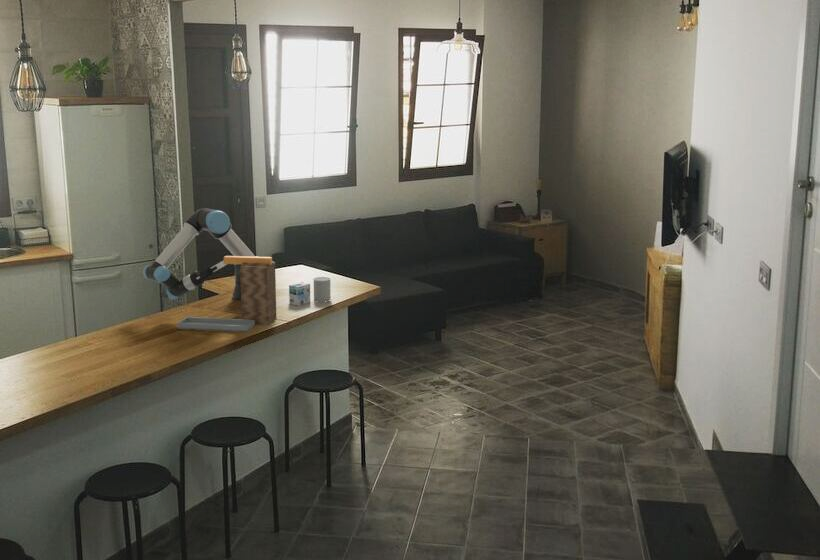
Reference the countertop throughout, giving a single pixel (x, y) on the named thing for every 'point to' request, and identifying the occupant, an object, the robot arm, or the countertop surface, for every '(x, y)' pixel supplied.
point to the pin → (246, 259)
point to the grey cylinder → (322, 289)
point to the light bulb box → (299, 293)
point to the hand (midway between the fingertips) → (227, 261)
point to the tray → (216, 324)
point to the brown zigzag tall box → (258, 292)
